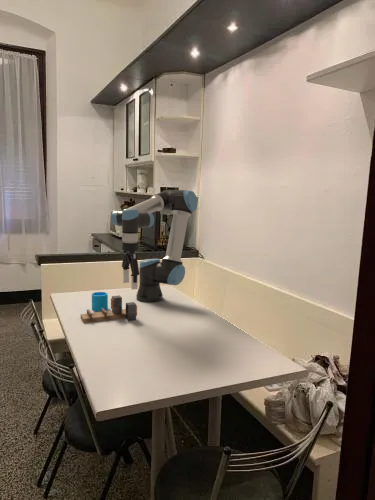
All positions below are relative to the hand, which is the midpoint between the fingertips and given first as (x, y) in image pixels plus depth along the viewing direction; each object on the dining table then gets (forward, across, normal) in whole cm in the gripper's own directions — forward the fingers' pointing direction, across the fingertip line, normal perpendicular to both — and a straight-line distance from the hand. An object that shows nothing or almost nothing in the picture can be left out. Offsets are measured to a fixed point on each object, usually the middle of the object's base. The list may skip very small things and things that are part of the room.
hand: (130, 285), depth 187 cm
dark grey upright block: (+17, 0, 0) cm, 17 cm away
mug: (+17, -24, -10) cm, 31 cm away
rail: (+17, -7, -10) cm, 20 cm away
